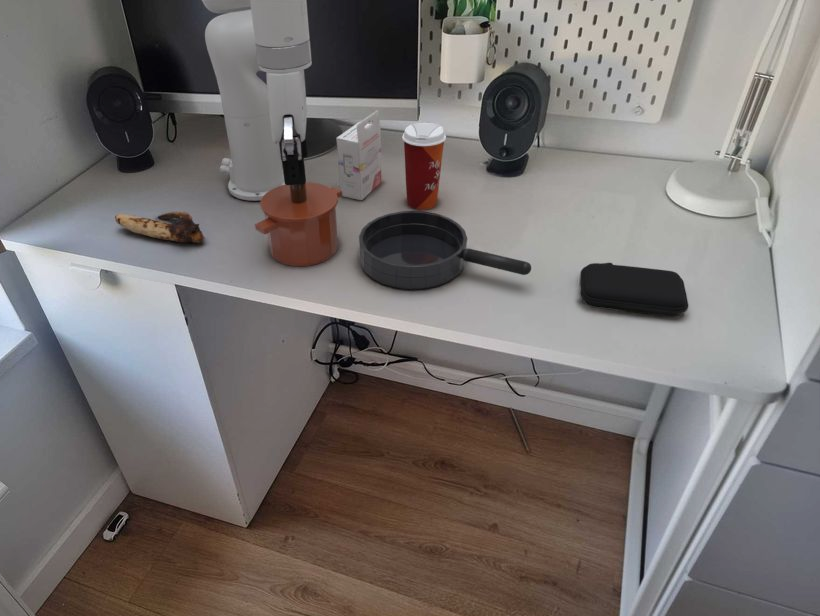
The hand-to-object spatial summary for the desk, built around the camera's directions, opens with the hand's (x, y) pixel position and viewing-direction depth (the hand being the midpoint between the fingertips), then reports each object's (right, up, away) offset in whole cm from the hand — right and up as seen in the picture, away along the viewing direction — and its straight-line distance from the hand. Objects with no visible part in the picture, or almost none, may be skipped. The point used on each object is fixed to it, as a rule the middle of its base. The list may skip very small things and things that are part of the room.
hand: (296, 170), depth 101 cm
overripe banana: (-25, -7, +16) cm, 30 cm away
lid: (0, -4, +4) cm, 6 cm away
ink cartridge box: (+10, +3, +25) cm, 27 cm away
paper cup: (+22, -1, +20) cm, 30 cm away
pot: (0, -11, +10) cm, 14 cm away
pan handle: (+31, -15, -2) cm, 34 cm away
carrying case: (+51, -20, -4) cm, 54 cm away
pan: (+19, -13, +5) cm, 24 cm away
